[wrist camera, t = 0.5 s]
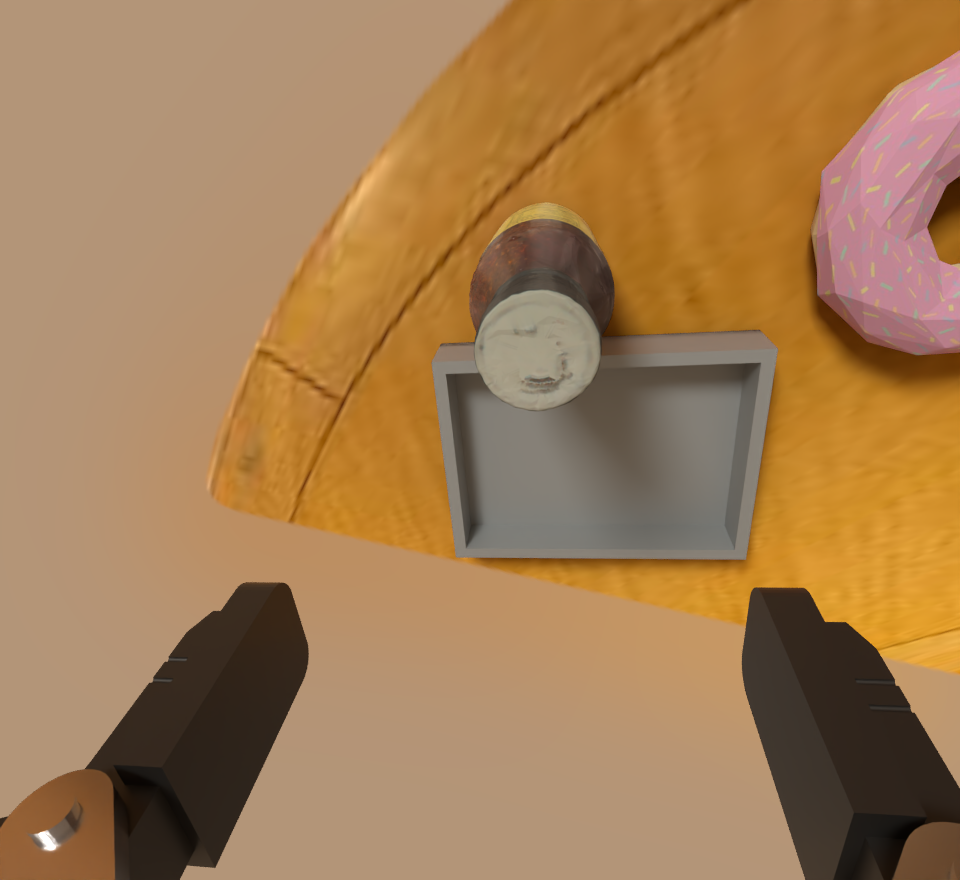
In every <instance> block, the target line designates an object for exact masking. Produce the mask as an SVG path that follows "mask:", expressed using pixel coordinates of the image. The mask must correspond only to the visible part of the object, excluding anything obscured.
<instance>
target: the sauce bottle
mask: <svg viewBox="0 0 960 880" xmlns="http://www.w3.org/2000/svg"><path fill="white" fill-rule="evenodd" d="M469 296H470V303H469V304H470V313H471V317H472V321H473V324H474V327H475V330H476V332H477V333H476V336H475V342H474V357H475V364H476V367H477V370H478V372H479V374H480V376H481V378H482V381H483V382H484V383H485V385H486V386H487V387H488V388H489V390H490V391H491V393H493V394H494V395H495V396H496V397H498V398H499V399H500V400H501V401H502V402H505V403H507V404H509V405H511V406H513V407H515V408H519V409H524V410H528V411H546V410H548V409H553V408H557V407H559V406H562V405H565V404H567V403H570V402H571V401H573V400H574V399H576V398H577V397H578V396H579V395H581V394H582V393H583V392H584V391H585V390H586V389H587V387H588V386H589V385H590V384H591V383H592V382H593V380H594V379H595V376H596V374H597V372H598V370H599V366H600V360H601V355H602V337H601V336H602V334H603V333H604V332H605V330H606V328H607V326H608V324H609V321H610V319H611V316H612V312H613V307H614V296H615V293H614V282H613V277H612V273H611V270H610V267H609V265H608V262H607V260H606V258H605V256H604V254H603V252H602V251H601V249H600V247H599V245H598V243H597V241H596V239H595V237H594V235H593V233H592V231H591V229H590V228H589V226H588V225H587V223H586V222H585V221H584V220H583V219H582V218H581V217H580V216H579V215H578V214H576V213H575V212H573V211H572V210H570V209H568V208H566V207H564V206H561V205H558V204H553V203H547V202H546V203H538V204H533V205H530V206H527V207H525V208H522V209H520V210H519V211H517V212H515V213H514V214H512V215H511V216H510V217H509V218H508V219H507V220H506V221H505V222H504V223H503V224H502V226H501V227H500V228H499V230H498V231H497V233H496V234H495V236H494V237H493V239H492V240H491V242H490V243H489V245H488V246H487V248H486V249H485V251H484V252H483V254H482V256H481V258H480V261H479V264H478V266H477V269H476V271H475V272H474V274H473V279H472V281H471V288H470V294H469Z"/></svg>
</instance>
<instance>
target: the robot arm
mask: <svg viewBox="0 0 960 880" xmlns="http://www.w3.org/2000/svg"><path fill="white" fill-rule="evenodd" d="M308 654H309V653H308V644H307V640H306V637H305V634H304V630H303V627H302V624H301V621H300V618H299V615H298V611H297V608H296V605H295V602H294V598H293V595H292V592H291V589H290V588H289V586H288V585H287V584H285V583H257V582H253V583H252V582H250V583H249V582H246V583H243V584H241V585H240V586H239V587H238V588H237V589H236V590H235V592H234V593H233V595H232V596H231V597H230V599H229V600H228V602H227V603H226V604H225V606H224V607H223V609H222V610H221V611H213V612H211V613H210V614H209V615H208V616H206V617H205V618H204V619H203V620H201V621H200V622H199V623H198V624H197V625H195V626H194V627H193V628H191V629H190V630H189V631H188V632H187V633H186V634H185V635H184V637H183V638H182V640H181V641H180V642H179V643H178V645H177V646H176V648H175V649H174V650H173V652H172V653H171V654H170V656H169V660H168V662H164V664H163V665H162V667H161V668H160V669H159V670H158V672H157V673H156V675H155V676H154V677H153V678H154V679H153V682H152V683H149V684H148V685H147V687H146V688H145V689H144V691H143V692H142V693H141V695H140V696H139V697H138V699H137V700H136V701H135V703H134V704H133V705H132V707H131V708H130V710H129V711H128V712H127V714H126V715H125V716H124V717H123V719H122V720H121V722H120V723H119V724H118V726H117V727H116V728H115V730H114V731H113V732H112V734H111V735H110V736H109V738H108V739H107V740H106V742H105V743H104V744H103V746H102V747H101V749H100V750H99V751H98V753H97V754H96V755H95V757H94V758H93V759H92V761H91V762H90V763H89V764H88V766H87V767H86V768H85V769H83V770H77V771H73V772H70V773H67V774H64V775H62V776H59V777H57V778H55V779H53V780H51V781H49V782H48V783H46V784H45V785H43V786H41V787H40V788H38V789H37V790H36V791H34V792H33V793H32V794H30V795H29V796H28V797H27V798H26V799H25V800H23V801H22V802H21V803H20V804H19V805H18V806H17V807H16V808H15V810H13V812H12V813H11V814H10V815H9V816H8V817H4V818H0V880H180V878H181V876H182V874H183V872H184V870H185V868H186V866H187V865H190V866H200V867H212V868H215V867H216V865H217V863H218V861H219V859H220V856H221V854H222V852H223V850H224V848H225V846H226V843H227V842H228V839H229V837H230V835H231V833H232V831H233V829H234V827H235V824H236V822H237V820H238V818H239V816H240V814H241V812H242V810H243V807H244V805H245V803H246V801H247V799H248V797H249V795H250V793H251V790H252V788H253V786H254V784H255V782H256V780H257V778H258V776H259V773H260V771H261V769H262V767H263V765H264V763H265V760H266V758H267V756H268V754H269V752H270V750H271V748H272V746H273V743H274V741H275V739H276V737H277V735H278V733H279V731H280V729H281V727H282V724H283V722H284V720H285V718H286V716H287V714H288V711H289V709H290V707H291V705H292V703H293V701H294V699H295V696H296V695H297V692H298V690H299V688H300V686H301V684H302V682H303V679H304V677H305V673H306V670H307V665H308ZM742 673H743V681H744V686H745V691H746V695H747V698H748V701H749V705H750V708H751V711H752V714H753V717H754V720H755V724H756V727H757V729H758V733H759V736H760V739H761V742H762V745H763V749H764V752H765V755H766V758H767V761H768V764H769V767H770V770H771V773H772V776H773V780H774V783H775V786H776V789H777V792H778V795H779V798H780V802H781V805H782V808H783V811H784V814H785V817H786V820H787V824H788V827H789V830H790V833H791V836H792V839H793V842H794V845H795V849H796V852H797V855H798V858H799V861H800V864H801V867H802V870H803V874H804V876H805V880H960V788H959V786H958V785H957V783H956V781H955V780H954V778H953V776H952V775H951V773H950V771H949V770H948V768H947V766H946V765H945V763H944V761H943V760H942V758H941V756H940V755H939V753H938V751H937V750H936V748H935V746H934V744H933V743H932V741H931V739H930V738H929V736H928V734H927V733H926V731H925V729H924V728H923V726H922V725H921V723H920V721H919V719H918V718H917V716H916V714H915V713H912V712H911V709H910V704H909V703H908V701H907V699H906V698H905V696H904V694H903V692H902V691H901V689H900V687H899V686H896V685H895V679H894V677H893V676H892V674H891V673H890V671H889V669H888V667H887V666H886V664H885V662H884V661H883V659H882V657H881V656H880V654H879V652H878V651H877V649H876V648H875V647H874V646H873V645H872V644H870V643H869V642H868V641H867V640H866V639H865V638H864V637H862V636H861V635H860V634H859V633H858V632H857V631H855V630H854V629H853V628H852V627H851V626H850V625H849V624H847V623H846V622H825V621H824V619H823V617H822V616H821V614H820V612H819V610H818V608H817V606H816V604H815V602H814V600H813V598H812V597H811V595H810V593H809V592H808V591H807V590H806V589H805V588H754V589H753V590H752V592H751V596H750V602H749V609H748V616H747V623H746V631H745V638H744V645H743V653H742Z"/></svg>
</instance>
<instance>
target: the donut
mask: <svg viewBox="0 0 960 880" xmlns="http://www.w3.org/2000/svg"><path fill="white" fill-rule="evenodd" d="M959 176H960V51H958V52H957V53H955V54H954V55H952V56H950V57H949V58H947V59H946V60H944V61H943V62H941V63H939V64H938V65H936V66H934V67H932V68H930V69H928V70H926V71H924V72H922V73H920V74H918V75H916V76H914V77H912V78H910V79H908V80H906V81H904V82H902V83H900V84H898V85H897V86H896V87H895V88H894V89H893V90H892V91H891V92H890V93H889V94H888V95H887V96H886V97H885V98H884V100H883V101H882V102H881V103H880V105H879V106H878V107H877V108H876V109H875V111H874V112H873V113H872V114H871V115H870V117H869V118H868V119H867V120H866V122H865V123H864V124H863V125H862V126H861V128H860V129H859V130H858V131H857V132H856V134H855V135H854V136H853V137H852V139H851V140H850V141H849V142H848V143H847V145H846V146H845V147H844V148H843V149H842V150H841V151H840V152H839V153H838V154H837V156H836V157H835V158H834V159H833V160H832V161H831V162H830V163H829V164H828V165H827V166H826V168H825V169H824V170H823V171H822V176H821V189H820V199H819V203H818V206H817V209H816V213H815V216H814V219H813V223H812V226H811V236H812V243H813V249H814V255H815V261H816V267H817V295H818V296H819V297H820V298H821V299H822V300H823V301H824V302H825V303H826V304H827V305H829V306H830V307H831V308H832V309H833V310H834V311H835V312H836V313H837V314H838V315H839V316H840V317H841V318H842V319H843V320H844V321H846V322H847V323H848V324H849V325H850V326H851V327H852V328H853V329H854V330H855V331H856V332H857V333H858V334H859V335H860V336H862V337H863V338H864V339H865V340H866V341H867V342H869V343H873V344H876V345H880V346H884V347H888V348H892V349H895V350H899V351H903V352H907V353H910V354H914V355H929V354H944V353H959V352H960V263H959V264H954V265H949V264H947V263H944V262H942V261H939V259H938V256H937V253H936V251H935V248H934V245H933V242H932V240H931V237H930V234H929V232H928V229H927V226H928V224H929V222H930V220H931V218H932V215H933V213H934V211H935V209H936V207H937V205H938V203H939V201H940V198H941V196H942V194H943V192H944V190H945V188H946V186H947V185H948V184H949V183H951V182H952V181H953V180H955V179H956V178H957V177H959Z"/></svg>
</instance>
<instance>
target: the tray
mask: <svg viewBox="0 0 960 880" xmlns="http://www.w3.org/2000/svg"><path fill="white" fill-rule="evenodd" d="M777 352H778V348H777V347H776V346H775V345H774V344H773V343H772V342H771V341H770V340H769V339H768V338H767V337H766V336H765V335H764V334H763V333H762V332H761V331H760V330H748V331H725V332H702V333H679V334H655V335H632V336H609V337H602V355H601V360H600V366H599V370H598V372H597V374H596V376H595V379H594V380H593V382H592V383H591V384H590V385H589V386H588V387H587V389H586V390H585V391H584V392H583V393H582V394H581V395H579V396H578V397H577V398H576V399H574V400H573V401H571V402H570V403H567V404H565V405H562V406H559V407H557V408H553V409H548V410H546V411H528V410H524V409H519V408H515V407H513V406H511V405H509V404H507V403H505V402H502V401H501V400H500V399H499V398H498V397H496V396H495V395H494V394H493V393H491V391H490V390H489V388H488V387H487V386H486V385H485V383H484V382H483V381H482V378H481V376H480V374H479V372H478V370H477V367H476V364H475V357H474V342H470V343H447V344H441V345H440V347H439V349H438V351H437V353H436V355H435V357H434V359H433V360H432V370H433V378H434V385H435V393H436V401H437V409H438V417H439V425H440V433H441V441H442V449H443V457H444V465H445V473H446V481H447V488H448V496H449V504H450V512H451V520H452V528H453V536H454V544H455V552H456V557H477V558H606V559H736V560H746V555H747V549H748V542H749V536H750V529H751V523H752V516H753V509H754V503H755V496H756V490H757V483H758V477H759V470H760V463H761V457H762V450H763V444H764V437H765V431H766V424H767V417H768V411H769V404H770V398H771V391H772V385H773V378H774V371H775V365H776V358H777Z"/></svg>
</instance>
